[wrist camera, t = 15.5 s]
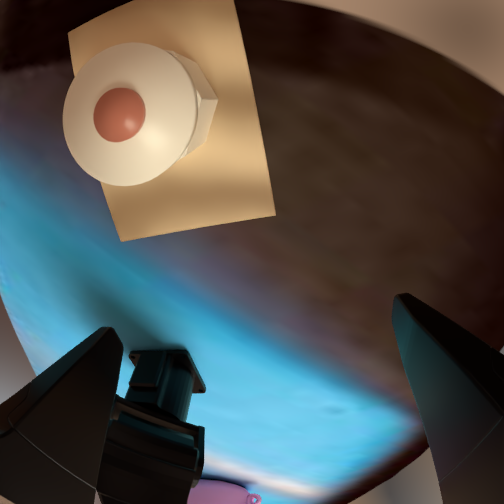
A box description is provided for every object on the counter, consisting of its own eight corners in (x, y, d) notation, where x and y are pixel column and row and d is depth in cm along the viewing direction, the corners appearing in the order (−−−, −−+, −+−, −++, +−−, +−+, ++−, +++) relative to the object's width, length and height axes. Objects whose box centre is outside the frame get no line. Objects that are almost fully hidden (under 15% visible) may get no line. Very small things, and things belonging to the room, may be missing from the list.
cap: (105, 149, 17) (51, 172, 12) (127, 50, 14) (74, 38, 9) (198, 172, 18) (170, 205, 12) (230, 68, 14) (212, 52, 9)
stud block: (275, 209, 19) (277, 246, 15) (126, 235, 21) (94, 273, 16) (228, -22, 12) (215, -58, 8) (75, 34, 14) (29, 26, 9)
